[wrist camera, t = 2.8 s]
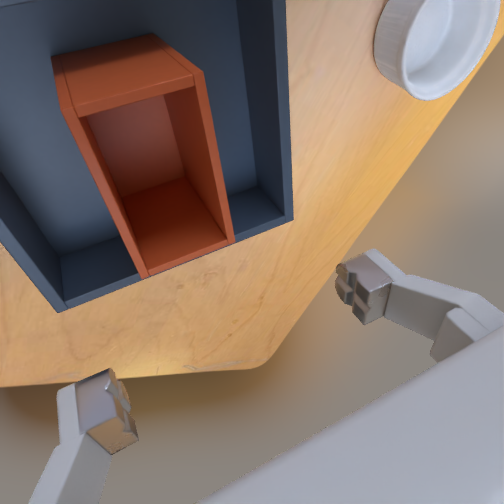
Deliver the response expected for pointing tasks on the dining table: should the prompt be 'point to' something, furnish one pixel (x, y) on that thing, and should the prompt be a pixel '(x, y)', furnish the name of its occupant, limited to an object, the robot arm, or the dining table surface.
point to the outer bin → (72, 162)
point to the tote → (148, 147)
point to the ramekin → (433, 42)
